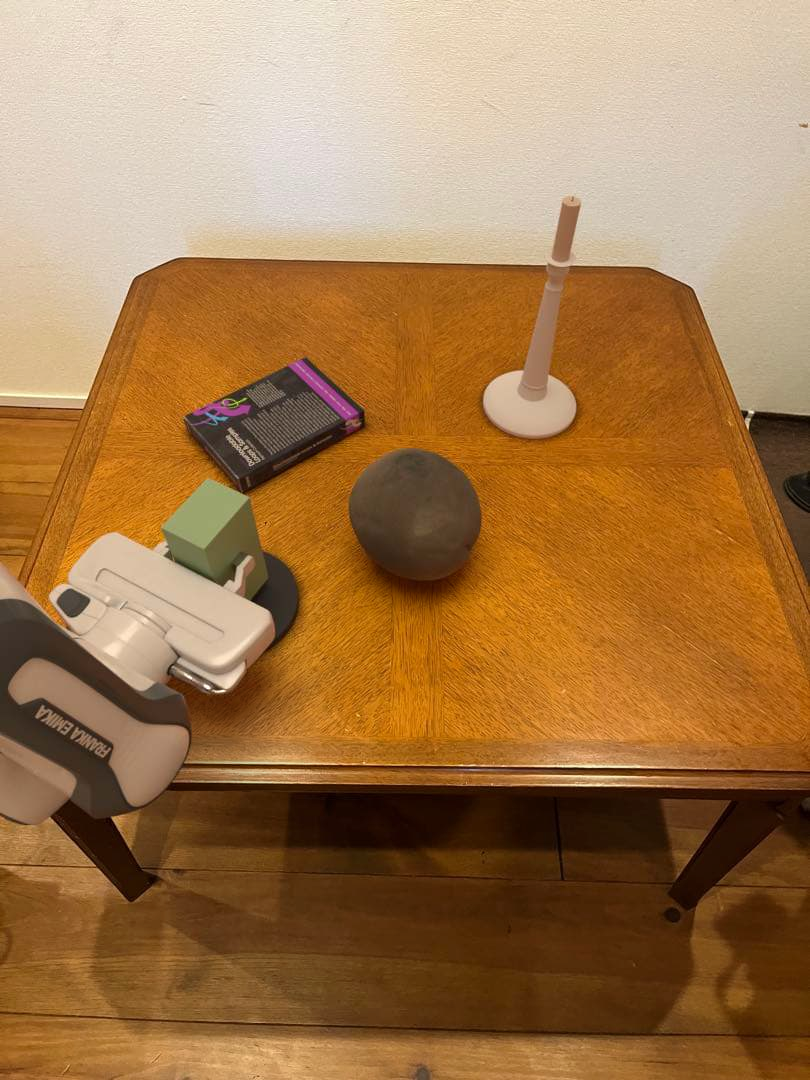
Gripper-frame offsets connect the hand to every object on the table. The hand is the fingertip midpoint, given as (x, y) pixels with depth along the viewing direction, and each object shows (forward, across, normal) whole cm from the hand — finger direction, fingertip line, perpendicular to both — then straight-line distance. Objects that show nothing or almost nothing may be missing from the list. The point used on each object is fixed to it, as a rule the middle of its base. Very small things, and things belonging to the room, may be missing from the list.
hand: (222, 544), depth 74 cm
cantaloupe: (+15, -14, +11) cm, 23 cm away
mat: (-1, 0, +11) cm, 11 cm away
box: (+24, +11, +11) cm, 29 cm away
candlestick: (+45, -16, +11) cm, 49 cm away
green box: (-1, 0, +8) cm, 8 cm away
